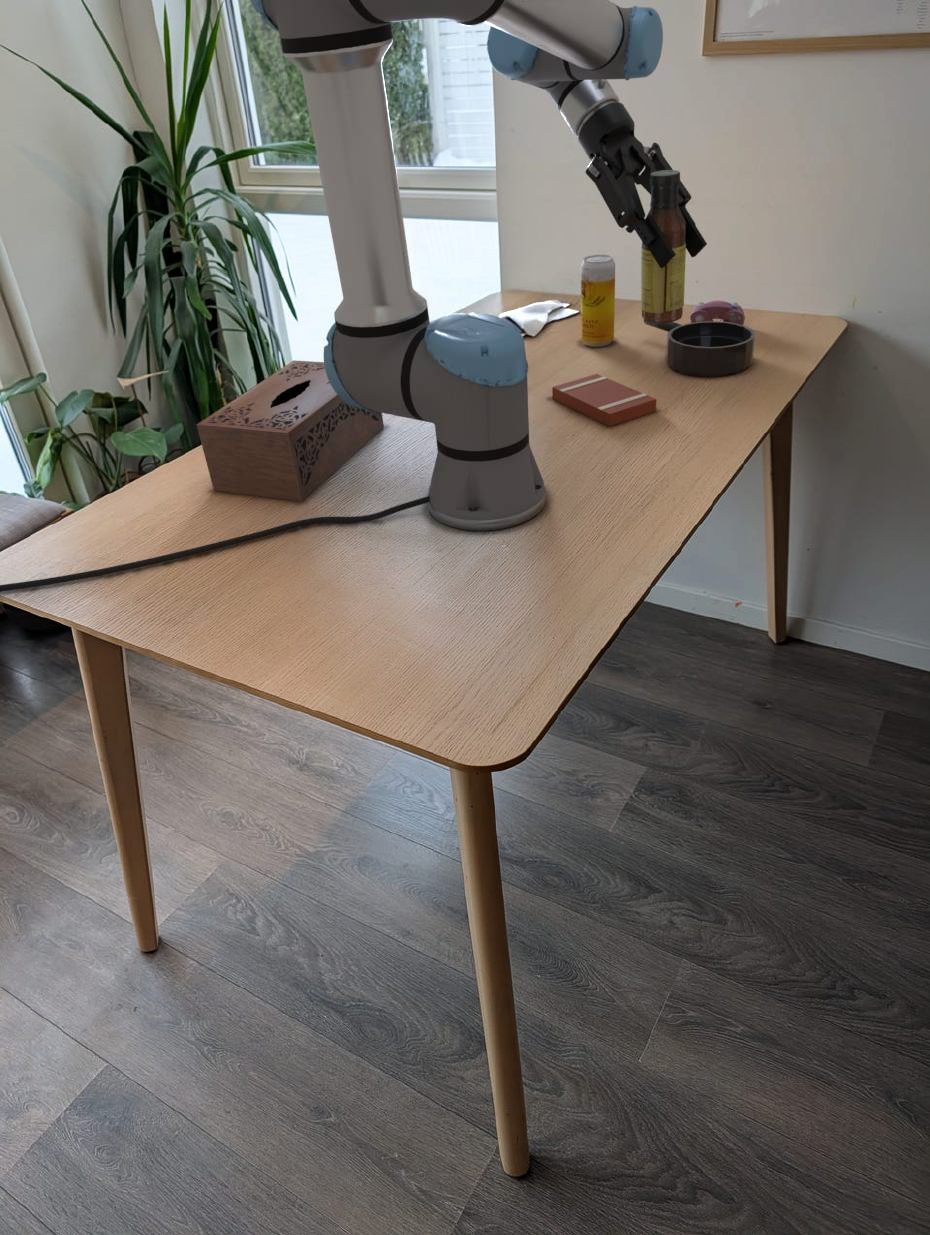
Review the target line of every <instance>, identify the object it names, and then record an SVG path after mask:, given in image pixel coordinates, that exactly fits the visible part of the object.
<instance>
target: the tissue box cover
mask: <svg viewBox="0 0 930 1235" xmlns="http://www.w3.org/2000/svg"><path fill="white" fill-rule="evenodd" d="M196 428H197V431H198V436H199V440H200V443H201V446H202V450H203V455H204V459H205V462H206V466H207V469H208V470H207V471H208V473H209V478H210V482H211V485H212V489H213V492H220V493H228V494H237V495H244V496H254V497H261V498H267V499H268V498H269V499H277V500H287V501H294V502H301V503H302V502H303V501H305V500H306V499H307V498H308V497H309V496H310V495H311V494H312V493H313V492H314V491H315V490H316V489H318V488H319V487H320V486H322V484H323V483H324V482H325V481H327V480H328V479H329V478H331V476H332V475H333V474H334V473H336V472H337V471H338V470H339V469H340V468H341V467H342V466H343V465H344V464H345V463H346V462H347V461H348V460H350V459H351V458H352V457H353V456H354V455H355V454H356V453H358V452H359V450H361V449H362V448H363V447H364V446H365V445H367V444H368V443H369V442H370V440H372V439H373V438H374V437H375V436H376V435H378V433H379V432H381V431H382V430H383V429H384V428H385V425H384V417H383V413H373V412H369V411H367V410H365V409H362V408H360V407H356V406H353V405H351V404H348V403H347V402H345V401H344V400H343V399H341V398H340V397H339V396H338V395H337V393H336V392H335V391H334V389H333V388H332V386H331V384H330V382H329V380H328V377H327V374H326V371H325V366H324V361H313V360H312V361H310V360H309V361H308V360H291V361H290V362H289V363H286V364H285V365H284V366H283V367H281V368H280V369H278V370H276V371H275V372H274V373H272V374H270V375H269V376H268V377H266V378H264V379H263V380H262V381H260V382H259V383H257V384H255V385H254V386H252V387H251V388H249V389H248V390H246V391H245V392H244V393H241V394H240V395H239V396H237V397H236V398H234V399H233V400H230V402H228V403H227V404H225V405H224V406H222V407H220V408H219V409H218V410H216V411H215V412H213V413H212V414H210V415H209V416H207V417H206V418H204V419H202V420H201V421H199V422H197V423H196Z"/></svg>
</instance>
